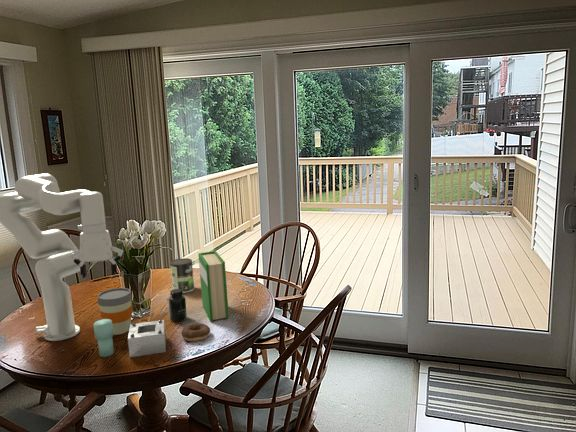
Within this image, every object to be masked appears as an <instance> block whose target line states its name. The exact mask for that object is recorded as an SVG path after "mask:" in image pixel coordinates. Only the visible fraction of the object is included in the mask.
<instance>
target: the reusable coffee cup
mask: <svg viewBox="0 0 576 432" xmlns="http://www.w3.org/2000/svg"><path fill="white" fill-rule="evenodd" d="M132 299H133V295H132V291H131V289H129V288H126V287H118V288H117V287H116V288H110V289H106V290H104V291H101V292H100V293H98V295H97V304H98V306H99V314H100V319H101V320H102V319H110V320H112V326H113V334H114V335H113V336H116V335H122V334H125V333H127V332H129V329H130V324H132V317H133V304H132Z"/></svg>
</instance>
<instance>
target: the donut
mask: <svg viewBox="0 0 576 432" xmlns="http://www.w3.org/2000/svg"><path fill="white" fill-rule="evenodd" d="M210 333H211V328H210V327H209V326H208V324H205V323H201V322H197V323H190V324H187V325H185V326H183V328H182V330H181V332H180V334H181V337H182V338H183V340H185V341H188V342H200V341H203V340H205V339H207V338H208V337H209V336H210Z"/></svg>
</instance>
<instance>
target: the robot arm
mask: <svg viewBox="0 0 576 432" xmlns="http://www.w3.org/2000/svg"><path fill="white" fill-rule="evenodd" d="M103 196H104V195H103V194H102V192H100V191H91V190H88V189H86V188H85V189H82V188H81V189H80V188H79V189H75V190H68V191H64V192H61V190H60V187H59V184H58V181H57V178H56V177H55V176H54V175H52V174H50V173H39V174H34V175H33V174H31V175H25V176H22V177H20V178H18V179H17V180H16V182H15V183H14V192H7V193H4V194H1V195H0V224H1V225H2V226H3V228H6V229H7V230H8V231H9V232H10V234H12V235H13V237H14V238H15V240H16V241H17V242H18V244H19V245H20V247H21V248H22V249H23V251H24V252H25V254H27V256H28V257H29V258H31V259H34V260H37V259H39V260H38V261H37V262H36V263H35V266H34V271H35V274H36V277H37V279H38V282H39V285H40V289H41V295H42V301H43V302H42V303H43V308H44V314H45V319H46V320H45V321H46V324H45V325H39V326H35V332H37V334H42V333H44V334H43V336H44V337H43V338H44V339H45V340H46V341H51V342H58V341H59V342H60V341H65V340H68V339H71V338H73V337H75V336H77V335H78V334H79V333H80V332H81V327H80V326H79V325H77V324H76V323H75V316H74V310H73V302H72V295H71V290H70V286H69V285H68V284H67V283H66V282H65V281H64V279H63V278H66V277H68V276H69V277H70V276H71V275H74V274H76V273H79V272H80V275H81V276H82V278H83V279H85V278H86V277H87V267H86V264H85V263H93V262H106V261H109V262H110V263H111V265H110V267H111V275H112V276H115V275H116V273H117V272H118V267H117V263H118V261H120V259H121V258H122V256H123V253H124V250H123V249H120V247H119V248H118V247H115V246H113V244H112V240H111V234H110V231H109V229H107V225H106V214H105V205H104V197H103ZM39 210H43V211H44V212H45V213H49V214H52V215H55V216H65V215H70V214H74V213H79V212H80V220H81V224H80V225H77V230H80V231H81V232H80V234H79V249H78V247H77V246H76V244H74V242H73V241H72V240H71V238H70V237H69V235H67V233H66V232H65V231H64V230H61V229H58V228H53V229H52V228H51V229H48V230H41V229H40V228H39V227H38V226H37V225H36V223H35V222H34V221H33V220H31V219H29V218H28V217H25V216H23V215H21V214H26V213H31V212H36V211H39ZM114 252H115V253H117V256H116V257H115V256H114Z"/></svg>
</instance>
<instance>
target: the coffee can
mask: <svg viewBox="0 0 576 432" xmlns="http://www.w3.org/2000/svg"><path fill="white" fill-rule="evenodd" d="M169 265H170V276H171V285H172V290H174V289H181V290H182V292H183V294H186V293H190V292H193V291H194V290H195V282H194V270H193V269H194V268H193V259H192V258H188V257H187V258H185V257H184V258H177V259H174V260H171V261H170V262H169Z"/></svg>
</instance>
